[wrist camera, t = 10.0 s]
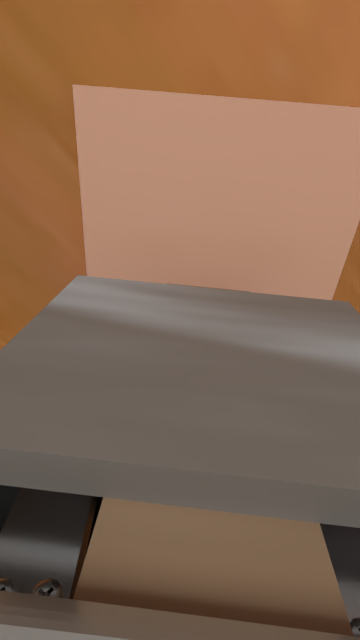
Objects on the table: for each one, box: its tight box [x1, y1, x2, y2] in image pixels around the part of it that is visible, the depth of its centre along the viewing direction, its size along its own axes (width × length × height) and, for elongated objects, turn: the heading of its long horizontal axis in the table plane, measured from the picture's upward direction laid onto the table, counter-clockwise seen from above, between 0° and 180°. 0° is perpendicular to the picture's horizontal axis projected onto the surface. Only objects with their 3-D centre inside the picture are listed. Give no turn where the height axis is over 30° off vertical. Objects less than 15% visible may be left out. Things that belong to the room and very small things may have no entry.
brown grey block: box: [0, 275, 360, 636], centre depth 8 cm, size 5×8×10 cm, turn 86°
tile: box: [72, 84, 360, 300], centre depth 12 cm, size 2×10×8 cm
